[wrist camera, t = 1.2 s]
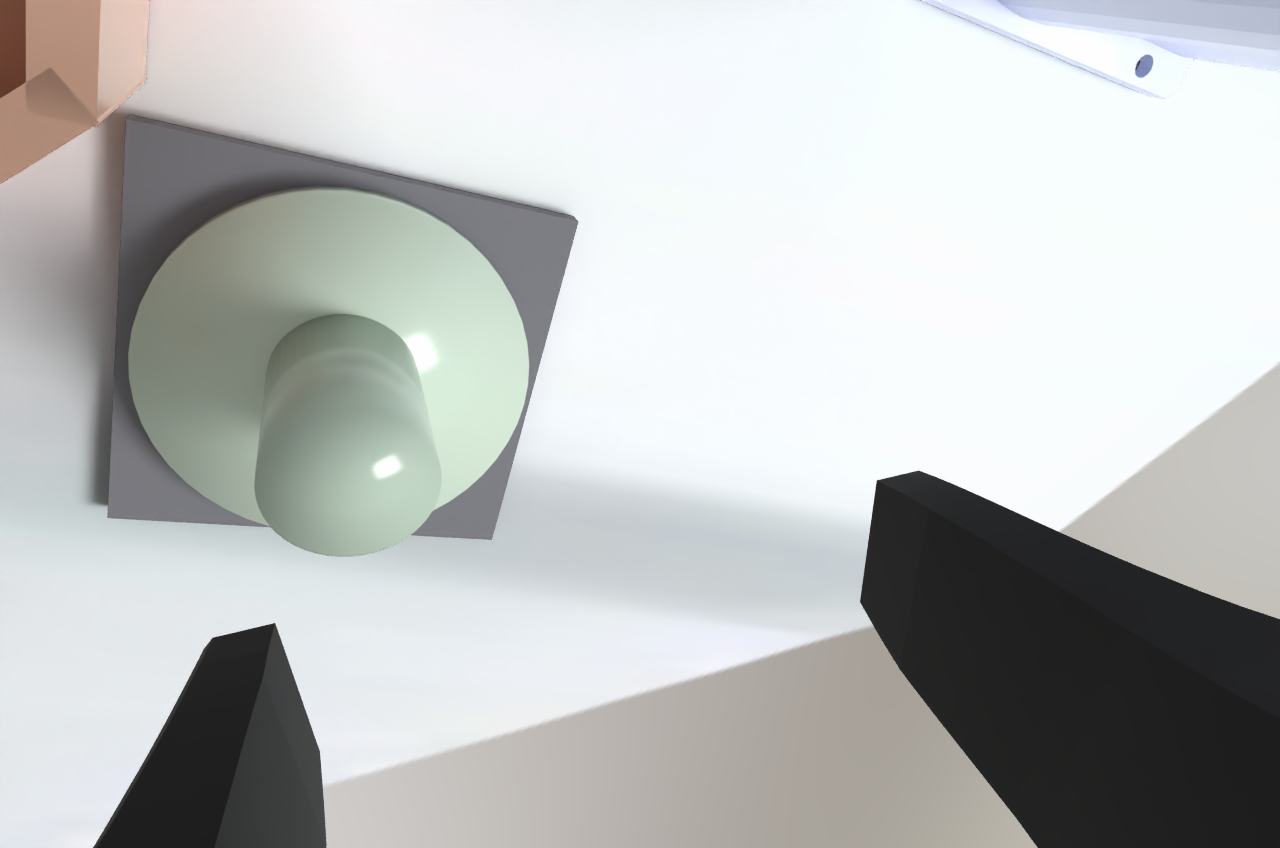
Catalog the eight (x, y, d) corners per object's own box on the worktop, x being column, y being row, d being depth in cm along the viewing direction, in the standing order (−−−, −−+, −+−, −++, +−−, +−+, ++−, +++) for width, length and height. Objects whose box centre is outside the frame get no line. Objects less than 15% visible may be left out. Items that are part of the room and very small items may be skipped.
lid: (561, 232, 18) (626, 311, 14) (482, 529, 21) (518, 659, 17) (145, 140, 15) (88, 212, 11) (123, 506, 18) (73, 660, 14)
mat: (573, 216, 18) (578, 221, 18) (489, 530, 22) (491, 539, 21) (129, 114, 15) (125, 118, 15) (110, 507, 18) (107, 517, 18)
